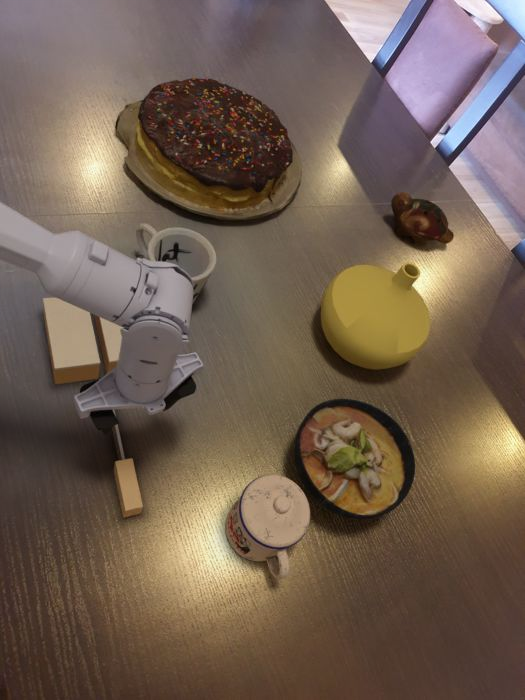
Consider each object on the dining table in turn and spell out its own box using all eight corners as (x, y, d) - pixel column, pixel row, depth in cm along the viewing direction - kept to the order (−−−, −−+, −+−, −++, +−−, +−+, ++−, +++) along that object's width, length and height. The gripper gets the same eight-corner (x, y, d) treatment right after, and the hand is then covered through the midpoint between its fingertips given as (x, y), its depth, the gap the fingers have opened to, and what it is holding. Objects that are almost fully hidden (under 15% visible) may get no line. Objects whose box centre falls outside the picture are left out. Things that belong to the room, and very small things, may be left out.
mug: (170, 330, 88) (181, 292, 80) (107, 267, 91) (112, 224, 83) (216, 299, 94) (231, 260, 86) (156, 241, 97) (165, 198, 89)
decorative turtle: (378, 205, 120) (399, 176, 114) (440, 233, 123) (463, 207, 116) (376, 235, 114) (398, 206, 108) (441, 264, 117) (465, 237, 110)
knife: (140, 513, 73) (143, 506, 70) (123, 518, 72) (125, 510, 69) (113, 387, 81) (114, 376, 78) (97, 390, 80) (98, 379, 77)
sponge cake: (55, 384, 78) (54, 368, 75) (43, 316, 83) (42, 298, 80) (147, 371, 84) (151, 356, 80) (131, 308, 88) (134, 290, 85)
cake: (266, 103, 128) (279, 61, 120) (325, 222, 112) (344, 183, 103) (101, 96, 114) (103, 48, 106) (140, 231, 97) (145, 187, 89)
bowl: (402, 519, 83) (439, 498, 75) (298, 546, 76) (326, 526, 68) (361, 414, 91) (391, 385, 83) (263, 430, 84) (285, 400, 76)
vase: (392, 403, 94) (458, 342, 78) (293, 355, 93) (340, 284, 77) (412, 324, 104) (473, 257, 89) (323, 280, 104) (369, 205, 88)
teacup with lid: (216, 501, 76) (238, 472, 67) (277, 490, 80) (306, 460, 70) (237, 594, 71) (264, 577, 61) (302, 578, 74) (337, 559, 65)
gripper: (95, 418, 53) (89, 468, 64) (225, 367, 60) (200, 420, 71) (66, 358, 56) (65, 416, 67) (194, 316, 63) (175, 374, 74)
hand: (133, 415), depth 69 cm, fingers open, 7 cm apart
